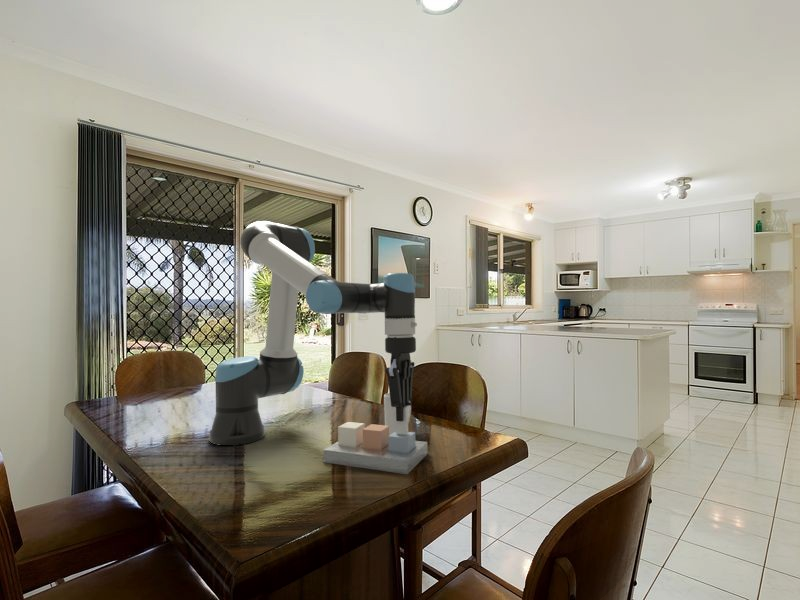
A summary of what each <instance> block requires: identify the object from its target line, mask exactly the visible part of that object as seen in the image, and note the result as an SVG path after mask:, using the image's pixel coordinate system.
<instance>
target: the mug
mask: <svg viewBox="0 0 800 600" xmlns="http://www.w3.org/2000/svg"><path fill="white" fill-rule="evenodd" d="M409 402H410V403H411V401H409ZM407 406H408V405H407ZM383 409H384V425H386V426H389V436H390V435H391V434H393V433H394V432H395V431H396V413H395V407H392V406H391V400H390V392H388V393H385V394H384V395H383ZM411 413H412V405H411V406H408V424H409V423H410V418H411Z"/></svg>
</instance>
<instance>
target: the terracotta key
mask: <svg viewBox="0 0 800 600" xmlns="http://www.w3.org/2000/svg"><path fill="white" fill-rule="evenodd" d="M387 446H389V426H386V425H385V424H373V423H371V424H369V425H367V426H365V428H364V429H363V448H365V449H373V450H381V451H382V450H383V449H385V448H386V447H387Z"/></svg>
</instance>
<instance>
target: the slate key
mask: <svg viewBox="0 0 800 600" xmlns="http://www.w3.org/2000/svg"><path fill="white" fill-rule="evenodd" d="M415 441H416V432H415V431H408V434H407V435H403V434H396V431H395V432H394V433H393V434H391V435H390V436H389V452H397V453H405V454H409V453H411V452H412V451H413V450H414V449H415V448H416V443H415Z"/></svg>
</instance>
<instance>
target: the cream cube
mask: <svg viewBox="0 0 800 600" xmlns="http://www.w3.org/2000/svg"><path fill="white" fill-rule="evenodd" d="M364 428H366V423H363V422H362V423H361V422H356V421H355V422H353V421H347V422H345V423H343V424H341V425H339V426H337V442H338V445H340V446H349V447H358V446H359V445H361V444H362V443H363V429H364Z"/></svg>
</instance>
